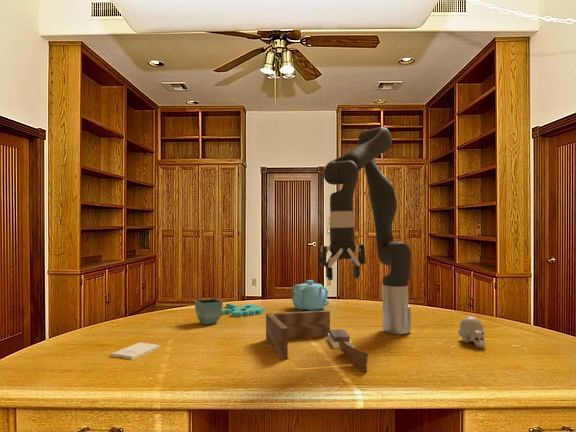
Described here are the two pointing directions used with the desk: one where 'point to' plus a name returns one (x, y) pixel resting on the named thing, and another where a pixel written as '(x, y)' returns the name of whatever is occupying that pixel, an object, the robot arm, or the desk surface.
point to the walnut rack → (295, 328)
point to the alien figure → (242, 310)
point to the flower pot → (208, 310)
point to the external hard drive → (135, 350)
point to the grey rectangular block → (339, 335)
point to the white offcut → (336, 344)
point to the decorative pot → (310, 296)
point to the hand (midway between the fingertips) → (343, 278)
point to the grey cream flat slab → (337, 348)
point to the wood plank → (354, 356)
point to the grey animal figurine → (472, 331)
